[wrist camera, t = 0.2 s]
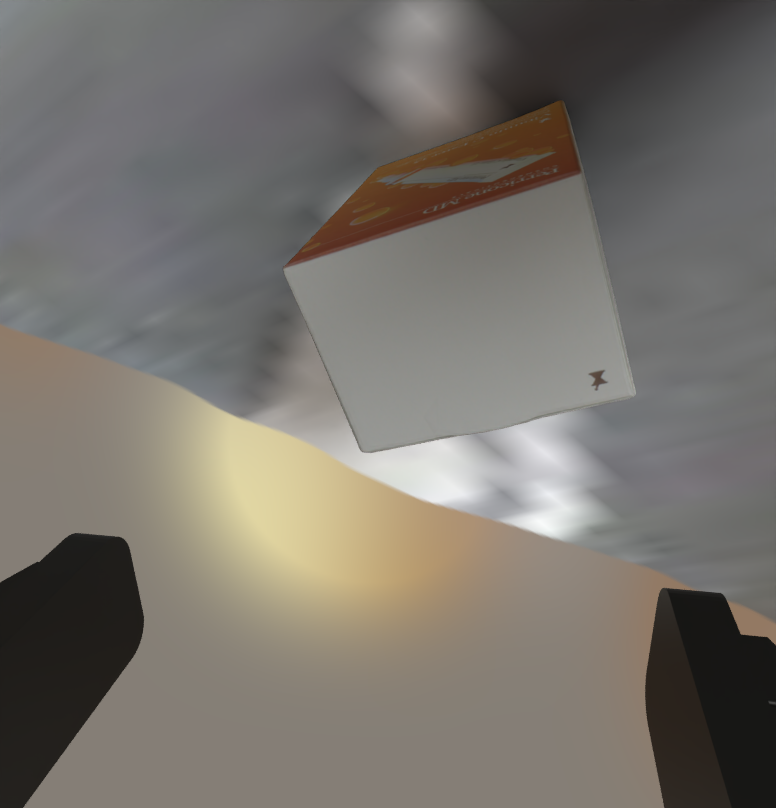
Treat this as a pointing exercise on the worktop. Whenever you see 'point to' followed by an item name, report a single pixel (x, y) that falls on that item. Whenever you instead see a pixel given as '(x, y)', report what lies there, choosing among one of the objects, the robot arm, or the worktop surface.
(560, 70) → the worktop surface
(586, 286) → the small box
